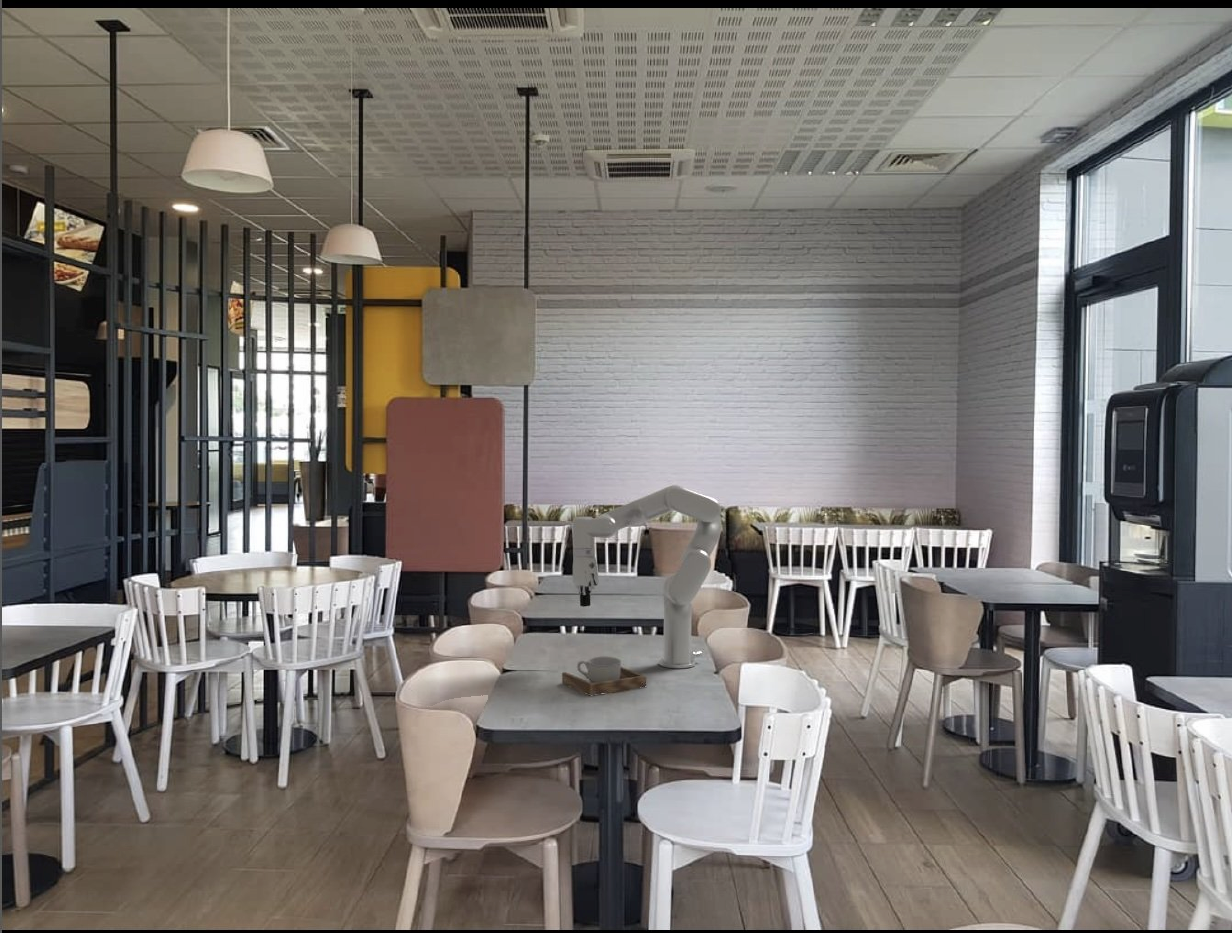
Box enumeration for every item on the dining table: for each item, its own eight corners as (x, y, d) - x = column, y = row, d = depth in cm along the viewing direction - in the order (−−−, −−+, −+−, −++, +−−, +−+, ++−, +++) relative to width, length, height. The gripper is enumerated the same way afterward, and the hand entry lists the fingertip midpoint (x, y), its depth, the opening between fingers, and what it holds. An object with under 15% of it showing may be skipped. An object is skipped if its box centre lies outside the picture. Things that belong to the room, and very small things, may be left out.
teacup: (625, 682, 313) (625, 657, 313) (614, 690, 303) (614, 665, 303) (584, 678, 317) (584, 654, 317) (572, 686, 307) (572, 661, 307)
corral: (615, 675, 322) (616, 665, 322) (646, 687, 307) (646, 676, 307) (562, 683, 311) (562, 672, 311) (590, 696, 296) (590, 684, 296)
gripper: (604, 553, 330) (606, 607, 331) (582, 550, 343) (583, 602, 343) (586, 555, 326) (587, 610, 327) (563, 551, 339) (564, 604, 339)
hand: (585, 605), depth 335 cm, fingers closed
